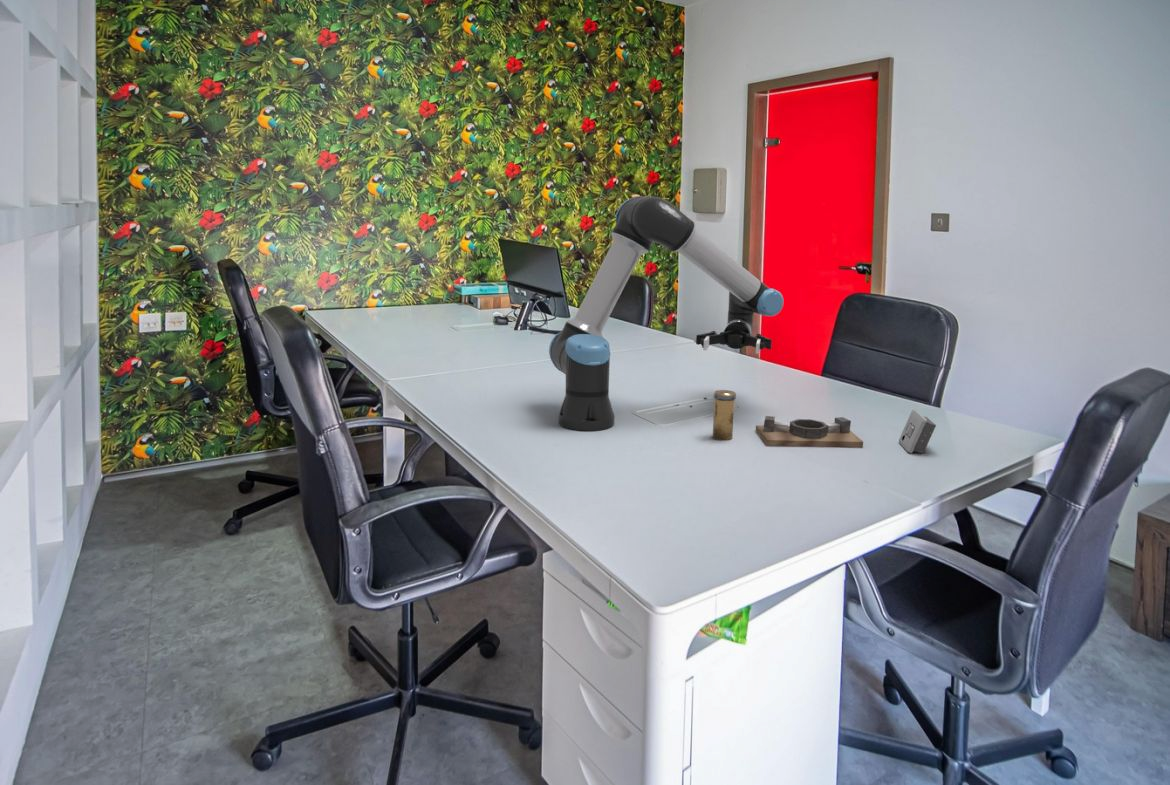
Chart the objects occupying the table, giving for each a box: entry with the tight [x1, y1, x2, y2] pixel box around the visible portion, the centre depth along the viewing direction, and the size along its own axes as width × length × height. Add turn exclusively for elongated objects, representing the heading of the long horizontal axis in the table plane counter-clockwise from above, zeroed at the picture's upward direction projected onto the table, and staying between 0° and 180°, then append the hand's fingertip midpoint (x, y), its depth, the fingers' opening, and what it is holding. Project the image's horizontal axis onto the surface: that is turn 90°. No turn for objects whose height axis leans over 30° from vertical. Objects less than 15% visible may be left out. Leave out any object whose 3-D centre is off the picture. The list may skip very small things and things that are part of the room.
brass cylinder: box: [712, 389, 737, 441], centre depth 198 cm, size 5×5×12 cm
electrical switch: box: [898, 409, 937, 454], centre depth 192 cm, size 9×5×9 cm, turn 173°
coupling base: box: [755, 415, 864, 449], centre depth 199 cm, size 24×13×5 cm, turn 90°
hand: (731, 346), depth 203 cm, fingers open, 13 cm apart
